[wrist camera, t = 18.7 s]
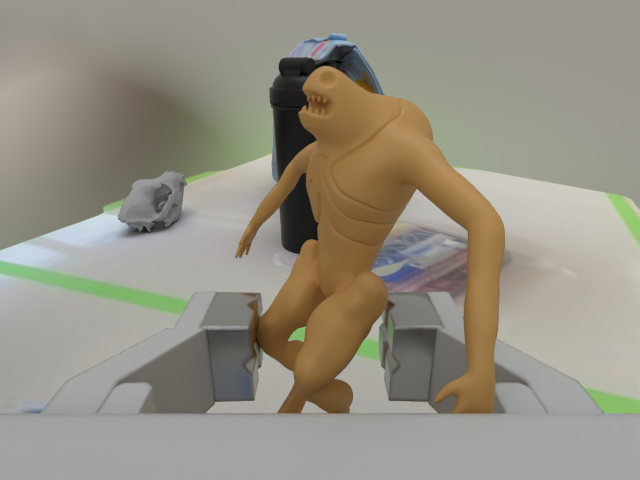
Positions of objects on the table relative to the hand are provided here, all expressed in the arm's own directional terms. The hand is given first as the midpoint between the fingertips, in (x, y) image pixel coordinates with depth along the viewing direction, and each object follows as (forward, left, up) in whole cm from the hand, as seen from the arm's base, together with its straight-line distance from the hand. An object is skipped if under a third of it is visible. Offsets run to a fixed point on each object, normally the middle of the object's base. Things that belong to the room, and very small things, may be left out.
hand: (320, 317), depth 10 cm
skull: (+15, +56, -17) cm, 61 cm away
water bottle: (+28, +35, -17) cm, 48 cm away
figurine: (0, -1, -7) cm, 7 cm away
